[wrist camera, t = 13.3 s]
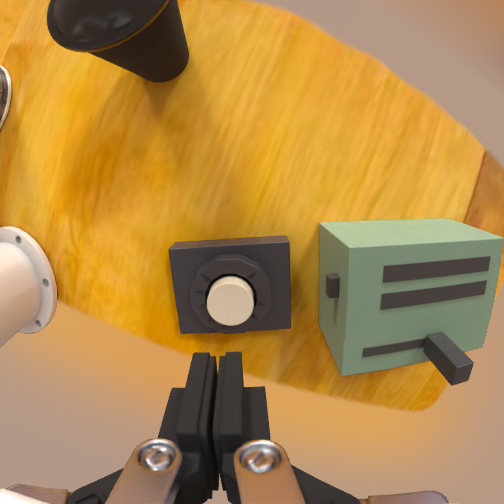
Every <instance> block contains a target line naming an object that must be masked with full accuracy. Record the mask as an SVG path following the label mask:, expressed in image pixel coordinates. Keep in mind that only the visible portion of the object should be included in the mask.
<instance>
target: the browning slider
mask: <svg viewBox="0 0 504 504" xmlns="http://www.w3.org/2000/svg"><path fill="white" fill-rule="evenodd" d="M423 352H424V353H425V355H426V356H427V357H428V358H429V359H430V360H431V362H432V363H433V364H434V365H435V366H436V368H437V369H438V370H439V371H440V372H441V374H442V375H443V376H444V377H445V378H446V380H447V381H448V382H449V383H450V384H451V385H455V384H459V383H462V382H465V381H468V379H469V377H470V373H471V370H472V367H473V361H472V360H471V359H470V358H469V357H468V356H467V355H466V354H465V353H464V352H463V351H462V350H461V349H460V348H459V347H458V346H457V345H456V344H455V343H454V342H453V341H451V340H450V339H449V338H448V337H447V336H446V335H445V334H444V333H443V332H439V333H434V334H429V335H427V336H426V341H425V345H424V350H423Z"/></svg>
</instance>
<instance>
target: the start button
mask: <svg viewBox="0 0 504 504" xmlns="http://www.w3.org/2000/svg"><path fill="white" fill-rule="evenodd" d="M253 307H254V301H253V292H252V289H251V287H250V285H249V284H248V283H247V282H246V281H245V280H243V279H241V278H239V277H236V276H225V277H222V278H220V279H218V280H217V281H215V282H214V284H213V285H212V286H211V288H210V291H209V295H208V298H207V309H208V312H209V314H210V315H211V317H212V318H213V319H214V320H215V321H217V322H219V323H221V324H223V325H229V326H233V325H238V324H241V323H243V322H244V321H246V320H247V319H248V318H249V317H250V315H251V314H252V311H253Z"/></svg>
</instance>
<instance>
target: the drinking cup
mask: <svg viewBox="0 0 504 504" xmlns="http://www.w3.org/2000/svg"><path fill="white" fill-rule="evenodd" d="M47 25H48V29H49V32H50V34H51V36H52V38H53V39H54V40H55V41H56V42H57V43H58V44H59V45H61V46H62V47H64V48H66V49H68V50H71V51H75V52H88V53H90V54H93V55H95V56H97V57H99V58H102V59H104V60H106V61H109V62H111V63H113V64H115V65H118V66H120V67H122V68H124V69H126V70H128V71H131V72H133V73H135V74H137V75H139V76H141V77H143V78H145V79H147V80H149V81H153V82H165V81H168V80H171V79H173V78H175V77H176V76H178V75H179V74H180V73H181V72H182V71H183V70H184V68H185V67H186V65H187V62H188V58H189V51H188V47H187V42H186V38H185V34H184V29H183V25H182V20H181V16H180V11H179V7H178V2H177V0H51V1H50V4H49V7H48V12H47Z"/></svg>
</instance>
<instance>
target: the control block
mask: <svg viewBox="0 0 504 504" xmlns="http://www.w3.org/2000/svg"><path fill="white" fill-rule="evenodd" d="M169 257H170V265H171V272H172V279H173V287H174V294H175V300H176V307H177V313H178V320H179V326H180V332H181V334H189V333H224V334H228V333H244V332H247V331H260V330H275V329H289V328H291V291H290V248H289V241H288V239H287V237H286V236H270V237H253V238H236V239H220V240H204V241H189V242H175V243H174V244H173V245H172V246H171V247H170V248H169ZM225 276H236V277H239V278H241V279H243V280H245V281H246V282H247V283H248V284H249V285H250V287H251V289H252V292H253V301H254V307H253V311H252V314H251V315H250V317H249V318H248V319H247V320H246V321H244V322H243V323H241V324H238V325H233V326H229V325H223V324H221V323H219V322H217V321H215V320H214V319H213V318H212V317H211V315H210V314H209V312H208V309H207V298H208V295H209V291H210V288H211V286H212V285H213V284H214V282H215V281H217V280H218V279H220V278H222V277H225Z"/></svg>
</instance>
